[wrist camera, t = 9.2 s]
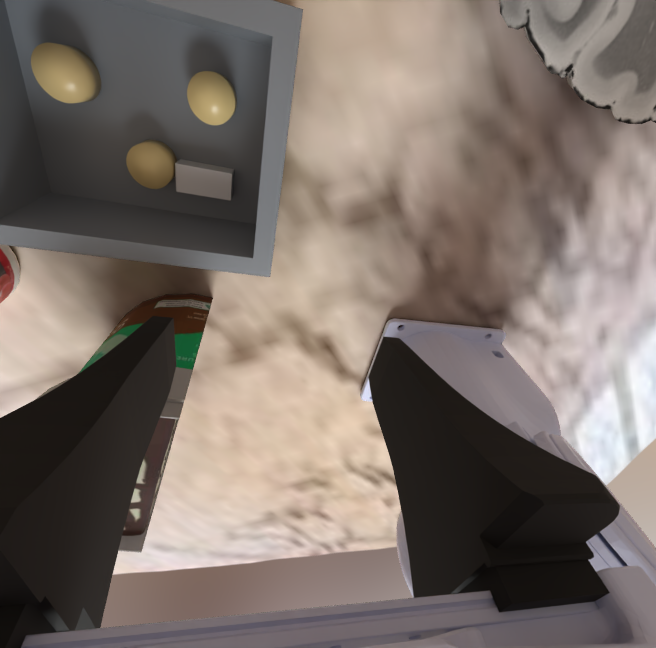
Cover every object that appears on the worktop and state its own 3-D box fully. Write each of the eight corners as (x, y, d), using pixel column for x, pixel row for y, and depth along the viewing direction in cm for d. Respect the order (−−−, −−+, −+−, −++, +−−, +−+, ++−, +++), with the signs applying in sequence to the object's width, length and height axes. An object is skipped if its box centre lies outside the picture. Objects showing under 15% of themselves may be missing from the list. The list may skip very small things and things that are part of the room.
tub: (294, 29, 14) (302, 9, 10) (270, 235, 19) (269, 277, 15) (-23, -63, 12) (-180, -137, 8) (45, 201, 17) (-29, 240, 13)
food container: (102, 243, 18) (-35, 373, 10) (218, 277, 20) (182, 408, 12) (90, 396, 24) (-1, 553, 16) (181, 410, 26) (140, 557, 18)
